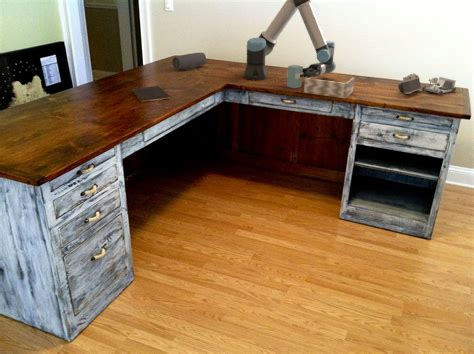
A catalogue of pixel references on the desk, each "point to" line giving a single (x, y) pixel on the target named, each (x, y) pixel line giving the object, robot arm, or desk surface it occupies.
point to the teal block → (291, 76)
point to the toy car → (441, 85)
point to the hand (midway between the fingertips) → (291, 75)
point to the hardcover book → (150, 93)
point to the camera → (410, 84)
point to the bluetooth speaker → (189, 61)
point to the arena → (329, 87)
